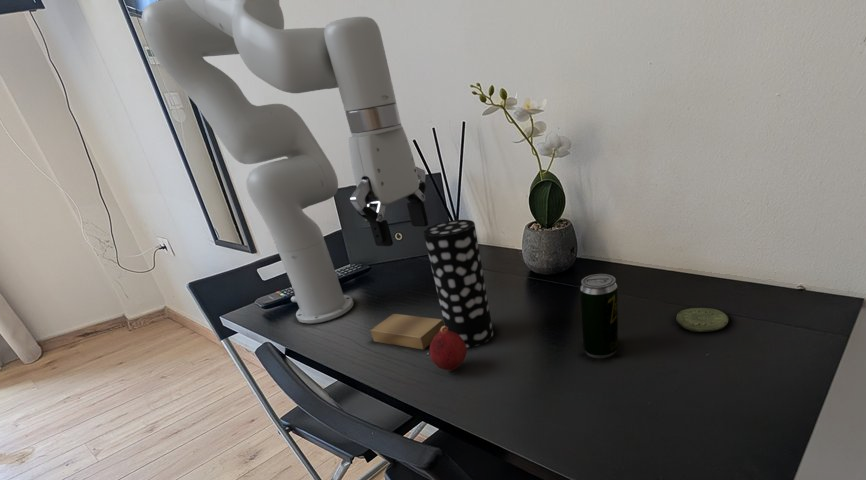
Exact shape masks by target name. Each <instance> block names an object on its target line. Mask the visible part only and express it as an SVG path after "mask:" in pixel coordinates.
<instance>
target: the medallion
mask: <svg viewBox="0 0 866 480" xmlns="http://www.w3.org/2000/svg"><path fill="white" fill-rule="evenodd" d="M675 319H676V322H677V323H678V324H679V325H680V326H681V327H682V328H683V329H685V330H688V331H690V332H694V333H695V332H696V333H711V332H712V333H713V332H716V331H721V330H723V329H724V328H725V327H727V325H728V324H729V317H728V315H727V314H726V313H725V312H723V311H722V310H720V309H716V308H712V307H711V308H709V307H691V308H685V309H683V310H680V311H679V312H677V315H676V318H675Z"/></svg>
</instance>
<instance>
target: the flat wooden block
mask: <svg viewBox="0 0 866 480" xmlns="http://www.w3.org/2000/svg"><path fill="white" fill-rule="evenodd" d="M442 326H445V324H444V320H443V319H442V318H441V319H440V318H434V317H433V318H432V317H425V316H417V315H408V314H399V313H392V314H391V315H389V316H388V317H387V318H385V319H384V320H383V321H381V322H380V323H378V324H377V325H375V326H374V327H373V328H372V329H370V334H371V337H372V339H373V342H375V343H381V344H387V345H392V346H393V345H394V346H399V347H406V348H411V349H416V350H417V349H418V350H422V351H423V350H426V349H427V348H428V347H430V344H431V342H432V340H433V338H434V337H435V335H436V334H438V333H439V331H440V329H441V327H442Z"/></svg>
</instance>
